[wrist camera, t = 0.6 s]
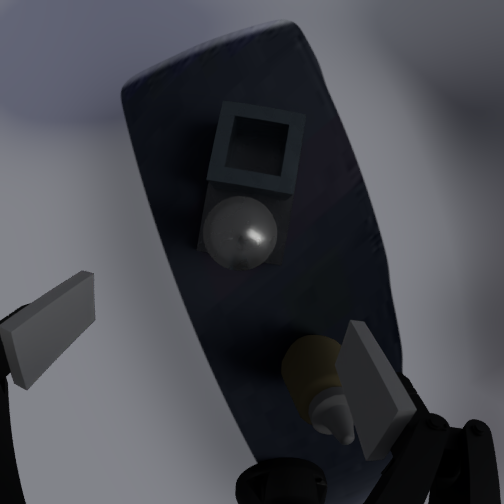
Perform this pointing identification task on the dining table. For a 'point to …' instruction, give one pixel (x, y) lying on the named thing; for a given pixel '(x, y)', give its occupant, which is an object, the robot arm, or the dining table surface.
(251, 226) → the dark grey round knob
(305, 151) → the dining table surface
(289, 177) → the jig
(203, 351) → the dining table surface
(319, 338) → the squeeze bottle
